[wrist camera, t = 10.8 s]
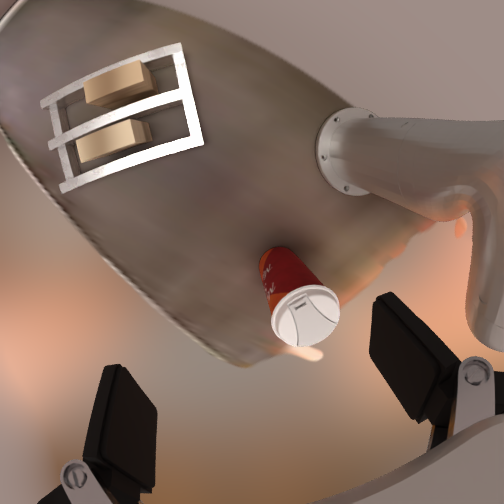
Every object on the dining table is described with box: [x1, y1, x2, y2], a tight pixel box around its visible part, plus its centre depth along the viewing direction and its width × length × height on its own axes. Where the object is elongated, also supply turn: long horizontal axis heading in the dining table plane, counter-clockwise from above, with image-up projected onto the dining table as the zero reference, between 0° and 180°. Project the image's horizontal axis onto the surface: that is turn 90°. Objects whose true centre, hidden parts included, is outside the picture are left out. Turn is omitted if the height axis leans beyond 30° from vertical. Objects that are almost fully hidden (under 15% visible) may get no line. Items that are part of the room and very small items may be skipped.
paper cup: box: [259, 247, 340, 347], centre depth 34 cm, size 8×8×14 cm
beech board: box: [76, 119, 153, 163], centre depth 26 cm, size 6×2×9 cm, turn 101°
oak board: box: [83, 59, 159, 110], centre depth 24 cm, size 6×2×9 cm, turn 102°
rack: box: [40, 43, 204, 194], centre depth 27 cm, size 18×12×5 cm
